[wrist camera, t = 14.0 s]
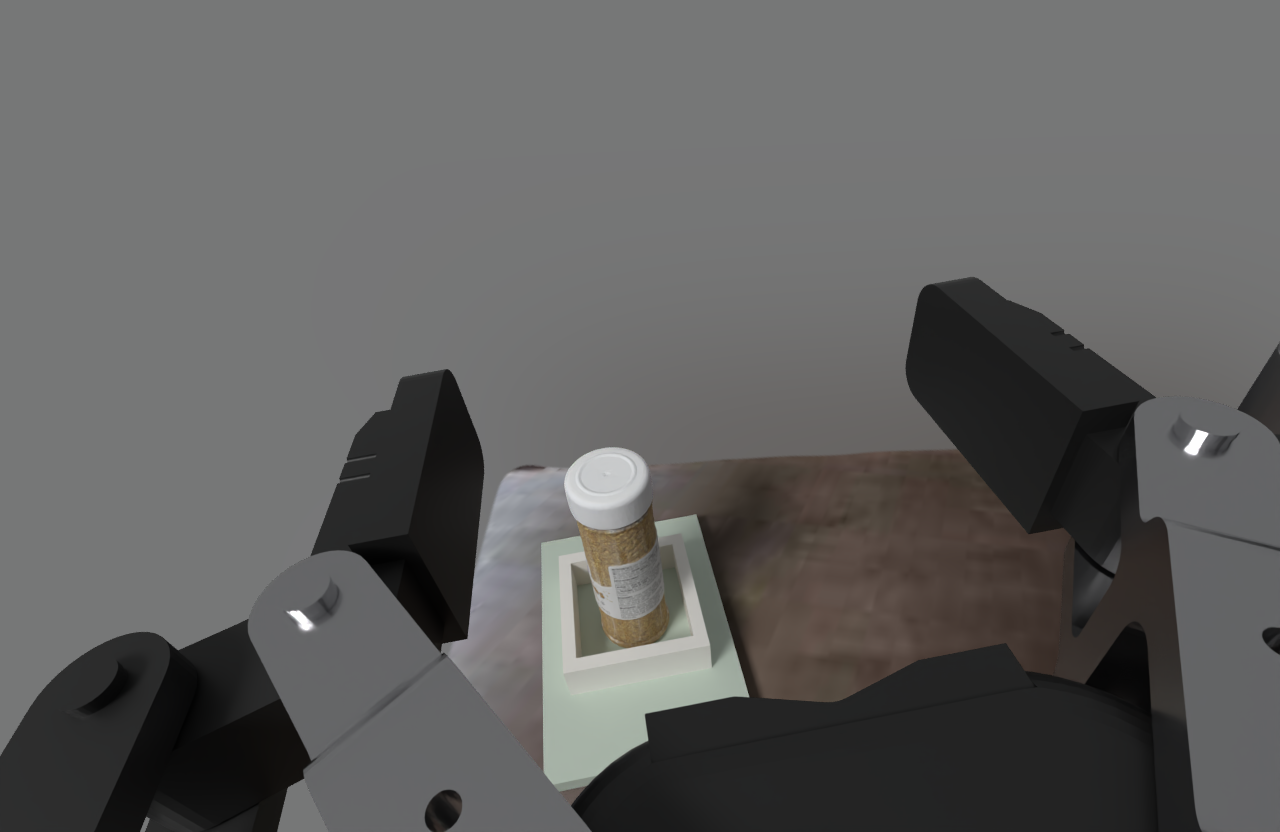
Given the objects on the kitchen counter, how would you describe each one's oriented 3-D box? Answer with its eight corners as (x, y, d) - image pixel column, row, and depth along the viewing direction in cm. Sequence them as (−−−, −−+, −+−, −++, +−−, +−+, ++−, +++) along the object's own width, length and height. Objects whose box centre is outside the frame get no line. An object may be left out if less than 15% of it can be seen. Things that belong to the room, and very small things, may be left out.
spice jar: (595, 603, 41) (555, 457, 32) (658, 582, 41) (635, 434, 33) (611, 663, 37) (572, 516, 29) (681, 639, 38) (661, 489, 30)
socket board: (696, 523, 47) (694, 491, 44) (762, 750, 33) (763, 720, 31) (544, 551, 46) (534, 520, 44) (547, 793, 33) (533, 766, 31)
